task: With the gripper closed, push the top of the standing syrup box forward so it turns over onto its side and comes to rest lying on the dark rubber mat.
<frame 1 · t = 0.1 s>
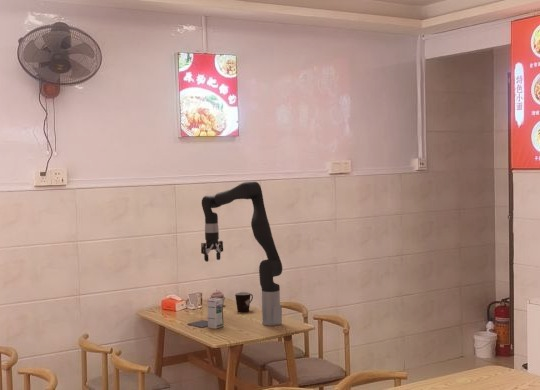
hand: (212, 260, 389), 29 cm above the table, tool pointing down, fingers open, 8 cm apart
mat: (202, 324, 361), on the table
cupcake: (217, 306, 409), on the table
coffee mug: (245, 311, 392), on the table
syrup box: (215, 327, 354), on the table
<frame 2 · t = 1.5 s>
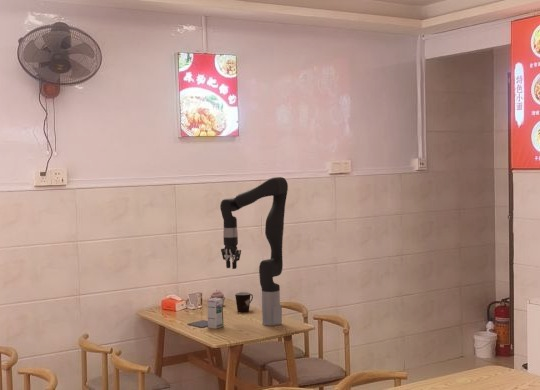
hand: (231, 268, 371), 27 cm above the table, tool pointing down, fingers open, 4 cm apart
nothing on the table moved.
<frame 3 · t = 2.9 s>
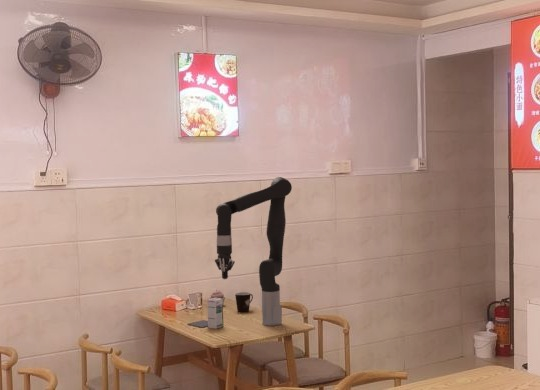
hand: (224, 278, 348), 25 cm above the table, tool pointing down, fingers closed
nothing on the table moved.
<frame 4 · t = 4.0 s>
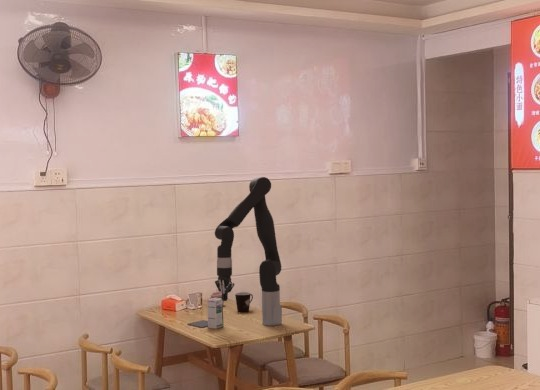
hand: (224, 300, 349), 14 cm above the table, tool pointing down, fingers closed
nothing on the table moved.
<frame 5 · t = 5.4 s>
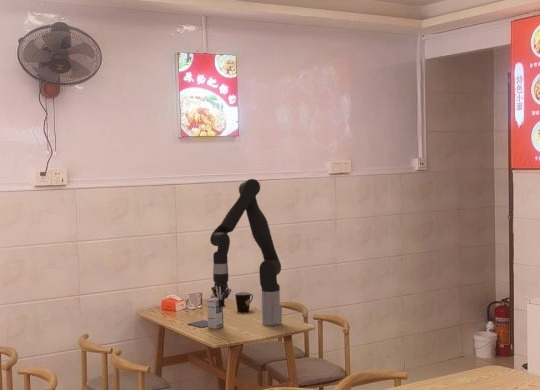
hand: (221, 306, 350), 11 cm above the table, tool pointing down, fingers closed
syrup box: (215, 327, 354), on the table, touching gripper
everything else where it was.
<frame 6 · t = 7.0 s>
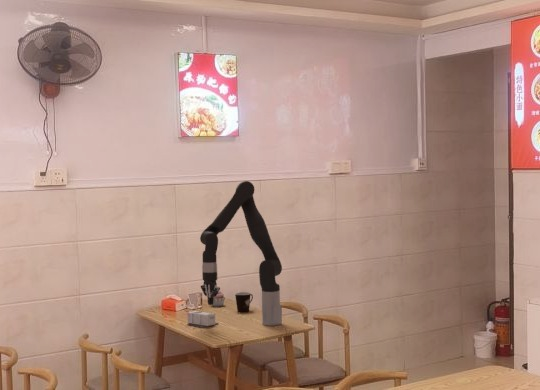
hand: (210, 304, 356), 11 cm above the table, tool pointing down, fingers closed
syrup box: (212, 320, 355), point 3 cm above the table, touching mat
everything else where it was.
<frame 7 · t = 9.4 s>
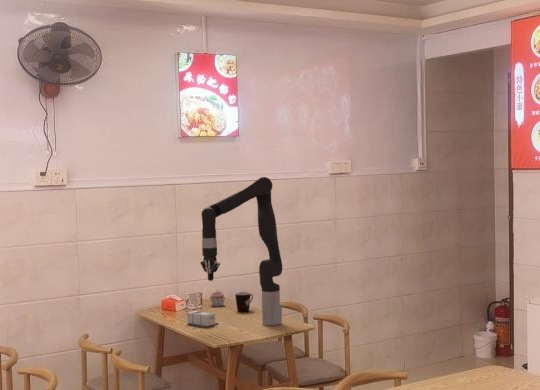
hand: (210, 280, 357), 23 cm above the table, tool pointing down, fingers closed
nothing on the table moved.
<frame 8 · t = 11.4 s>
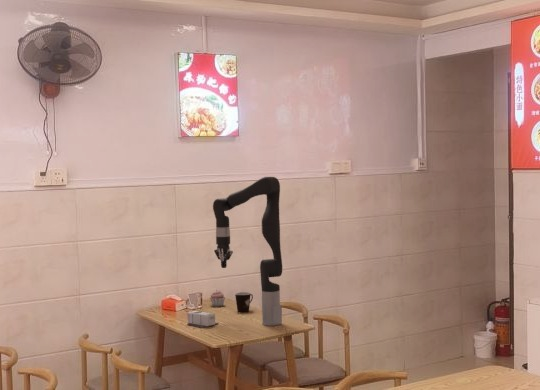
hand: (223, 267, 375), 27 cm above the table, tool pointing down, fingers closed
nothing on the table moved.
at the end: syrup box tilted 89°; syrup box inside the target area (7.6 cm from its centre), point 3.3 cm above the table; the gripper is holding nothing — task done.
